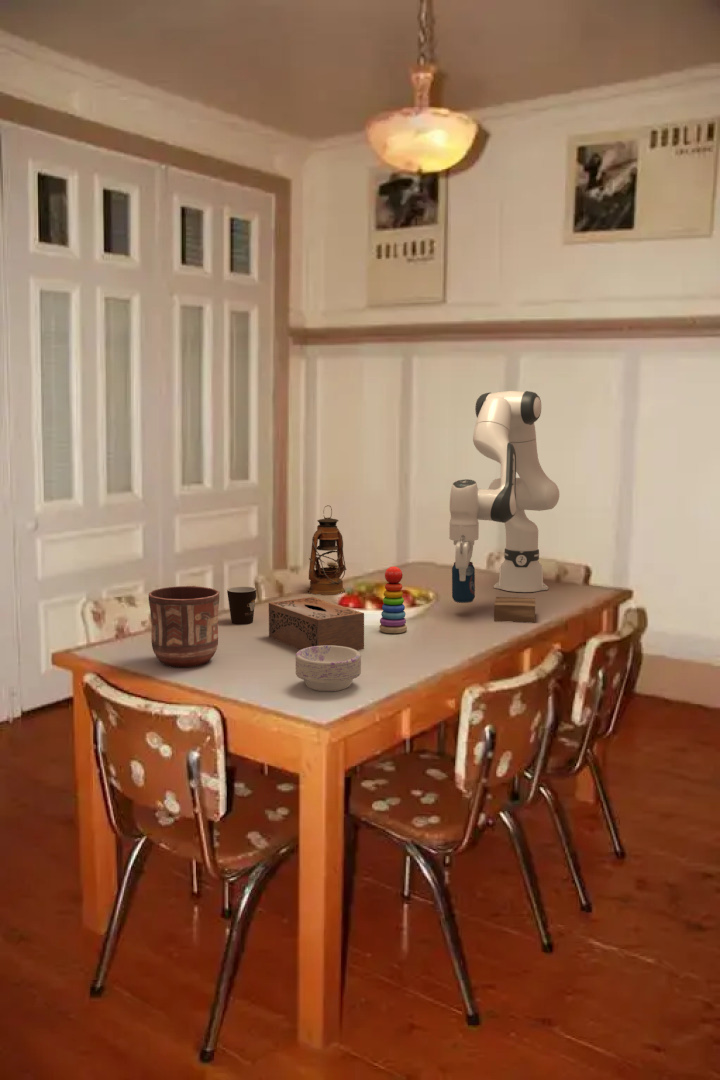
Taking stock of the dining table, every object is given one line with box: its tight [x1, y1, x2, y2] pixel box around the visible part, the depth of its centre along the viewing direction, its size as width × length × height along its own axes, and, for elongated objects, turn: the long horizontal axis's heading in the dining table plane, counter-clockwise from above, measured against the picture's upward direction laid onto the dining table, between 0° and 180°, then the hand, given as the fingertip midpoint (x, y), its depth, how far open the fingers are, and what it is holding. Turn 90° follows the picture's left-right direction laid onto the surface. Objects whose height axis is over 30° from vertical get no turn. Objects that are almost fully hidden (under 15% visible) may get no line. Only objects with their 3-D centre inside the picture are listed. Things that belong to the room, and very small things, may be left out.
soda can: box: [451, 561, 476, 604], centre depth 300 cm, size 7×7×12 cm
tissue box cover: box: [268, 596, 365, 651], centre depth 267 cm, size 26×14×10 cm, turn 35°
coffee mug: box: [226, 586, 257, 626], centre depth 292 cm, size 12×9×10 cm
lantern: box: [307, 505, 347, 596], centre depth 336 cm, size 17×13×30 cm
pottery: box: [148, 585, 220, 668], centre depth 247 cm, size 18×18×18 cm
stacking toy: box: [378, 566, 408, 635], centre depth 279 cm, size 8×8×19 cm
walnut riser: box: [493, 596, 536, 624], centre depth 298 cm, size 12×12×5 cm
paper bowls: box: [294, 645, 362, 692], centre depth 227 cm, size 15×15×8 cm
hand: (463, 578), depth 299 cm, fingers closed on soda can, 7 cm apart
